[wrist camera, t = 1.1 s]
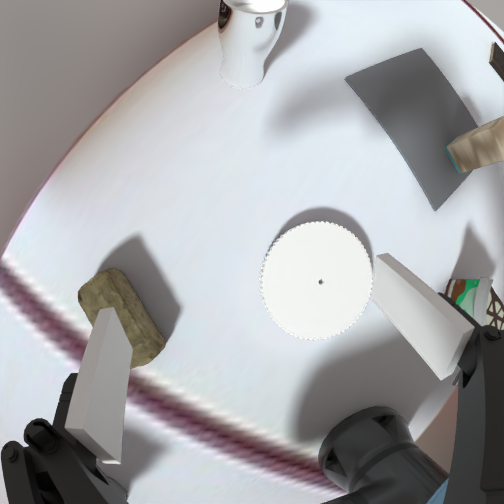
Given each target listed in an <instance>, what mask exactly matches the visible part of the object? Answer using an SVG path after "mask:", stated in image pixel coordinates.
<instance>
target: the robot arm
mask: <svg viewBox="0 0 504 504" xmlns="http://www.w3.org/2000/svg"><path fill="white" fill-rule="evenodd" d="M371 300H372V301H373V302H374V303H375V304H376V305H377V306H378V308H379V309H380V310H381V311H382V312H383V313H384V314H385V315H386V317H387V318H388V319H389V320H390V321H391V322H392V323H393V324H394V326H395V327H396V328H397V329H398V330H399V331H400V332H401V334H402V335H403V336H404V337H405V338H406V339H407V341H408V342H409V343H410V344H411V345H412V346H413V348H414V349H415V350H416V351H417V352H418V354H419V355H420V356H421V357H422V358H423V360H424V361H425V362H426V363H427V364H428V366H429V367H430V368H431V369H432V370H433V372H434V373H435V374H436V375H437V377H438V378H439V379H440V380H443V379H445V378H446V377H448V376H450V375H451V374H453V372H454V370H455V368H456V366H457V364H458V365H459V367H460V368H461V369H460V371H459V373H458V375H457V376H456V378H455V380H454V382H453V385H454V386H455V384H456V382H457V381H458V379H459V384H458V386H459V390H458V413H457V425H456V435H455V444H454V451H453V458H452V464H451V470H450V474H449V473H447V472H446V471H445V470H444V469H443V468H442V467H440V466H439V465H438V464H437V463H436V462H435V461H433V460H432V459H431V458H430V457H429V456H428V455H427V454H425V453H424V452H423V451H422V450H421V449H420V448H419V447H417V446H416V445H415V444H414V441H413V439H412V436H411V434H410V431H409V429H408V426H407V424H406V422H405V420H404V419H403V418H402V417H401V416H400V415H399V414H398V413H397V412H396V411H394V410H393V409H391V408H388V407H372V408H368V409H365V410H362V411H360V412H357V413H355V414H353V415H352V416H350V417H348V418H347V419H345V420H344V421H342V422H341V423H340V424H339V425H338V426H336V427H335V428H334V429H333V430H332V431H331V432H330V434H329V435H328V436H327V437H326V439H325V440H324V442H323V444H322V446H321V448H320V451H319V455H318V461H319V465H320V467H321V469H322V471H323V473H324V474H325V476H326V477H327V478H328V479H329V480H331V481H332V482H334V483H335V484H336V485H338V486H339V487H341V488H342V489H344V490H345V491H347V492H348V493H349V494H347V495H344V496H341V497H339V498H336V499H333V500H330V501H327V502H325V503H322V504H504V330H499V329H498V328H496V327H495V326H492V325H484V326H481V325H480V324H479V323H478V322H477V321H476V320H474V319H473V318H472V317H471V316H470V315H469V314H468V313H467V312H466V311H464V310H463V309H461V307H460V306H459V305H458V304H456V303H455V302H454V301H453V300H452V299H451V298H450V297H448V296H446V295H444V294H442V293H440V292H439V293H436V292H435V291H434V290H433V289H432V288H430V287H429V286H428V285H427V284H426V283H424V282H423V281H422V280H421V279H420V278H418V277H417V276H416V275H415V274H414V273H412V272H411V271H410V270H409V269H407V268H406V267H405V266H404V265H402V264H401V263H400V262H399V261H397V260H396V259H395V258H394V257H392V256H391V255H390V254H388V253H385V254H381V255H377V256H376V262H375V271H374V279H373V287H372V294H371ZM132 352H133V348H132V346H131V344H130V342H129V340H128V338H127V336H126V334H125V331H124V329H123V327H122V325H121V323H120V320H119V318H118V316H117V314H116V311H115V309H114V307H111V308H105V309H100V310H99V313H98V316H97V318H96V321H95V324H94V327H93V329H92V332H91V335H90V338H89V341H88V344H87V347H86V350H85V353H84V356H83V360H82V363H81V366H80V369H79V373H71V374H70V375H69V377H68V378H67V379H66V381H65V382H64V385H63V388H62V392H61V393H62V394H61V395H60V398H59V402H58V406H57V409H56V413H55V417H54V421H53V425H51V424H50V423H49V422H48V421H47V420H45V419H42V418H37V419H35V420H32V421H31V422H30V423H29V424H28V425H27V426H26V428H25V430H24V441H25V442H26V443H27V444H28V445H29V446H28V447H23V446H22V445H21V444H20V443H18V442H16V441H9V442H8V443H6V444H5V445H4V447H3V448H2V451H1V463H2V470H3V476H4V482H5V487H6V492H7V497H8V501H9V504H129V503H128V502H127V501H126V500H125V499H124V498H123V497H122V495H121V494H120V493H119V492H118V491H117V490H116V488H115V487H114V486H113V485H112V483H111V482H110V481H109V480H108V478H107V477H106V476H105V475H104V473H103V472H102V471H101V469H100V468H99V467H98V466H97V465H96V458H98V459H99V460H100V461H102V462H103V463H108V464H121V454H122V438H123V425H124V414H125V404H126V395H127V387H128V379H129V372H130V365H131V359H132Z"/></svg>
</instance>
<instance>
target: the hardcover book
mask: <svg viewBox="0 0 504 504" xmlns="http://www.w3.org/2000/svg"><path fill="white" fill-rule="evenodd" d="M489 63H490V65H491V66H492V67H493V68H494V70H495V71H496V72H497V73H498V75H499V76H500V77H501V78H502V80H503V81H504V52H503V51H502V49H501V48H500V47H499V46H498V45H497V43H496V42H495V43H494V44H493V45H492V52H491V58H490V62H489Z"/></svg>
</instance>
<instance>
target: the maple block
mask: <svg viewBox="0 0 504 504" xmlns="http://www.w3.org/2000/svg"><path fill="white" fill-rule="evenodd" d="M445 150H446V152H447V153H448V155H449V157H450V159H451V160H452V162H453V164H454V166H455V168H456V170H457V171H458V173H459V174H460V173H464V172H467V171H470V170H473V169H477V168H480V167H483V166H486V165H490V164H493V163H496V162H499V161H503V160H504V117H503V116H502V117H500V118H498V119H496V120H493V121H491V122H489V123H487V124H485V125H482V126H480V127H478V128H476V129H473V130H471V131H469V132H467V133H465V134H463V135H460V136H458V137H456V138H455V139H454V140H453V141H452V142H451V143H450V144H448V145H447V146H446V147H445Z"/></svg>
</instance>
